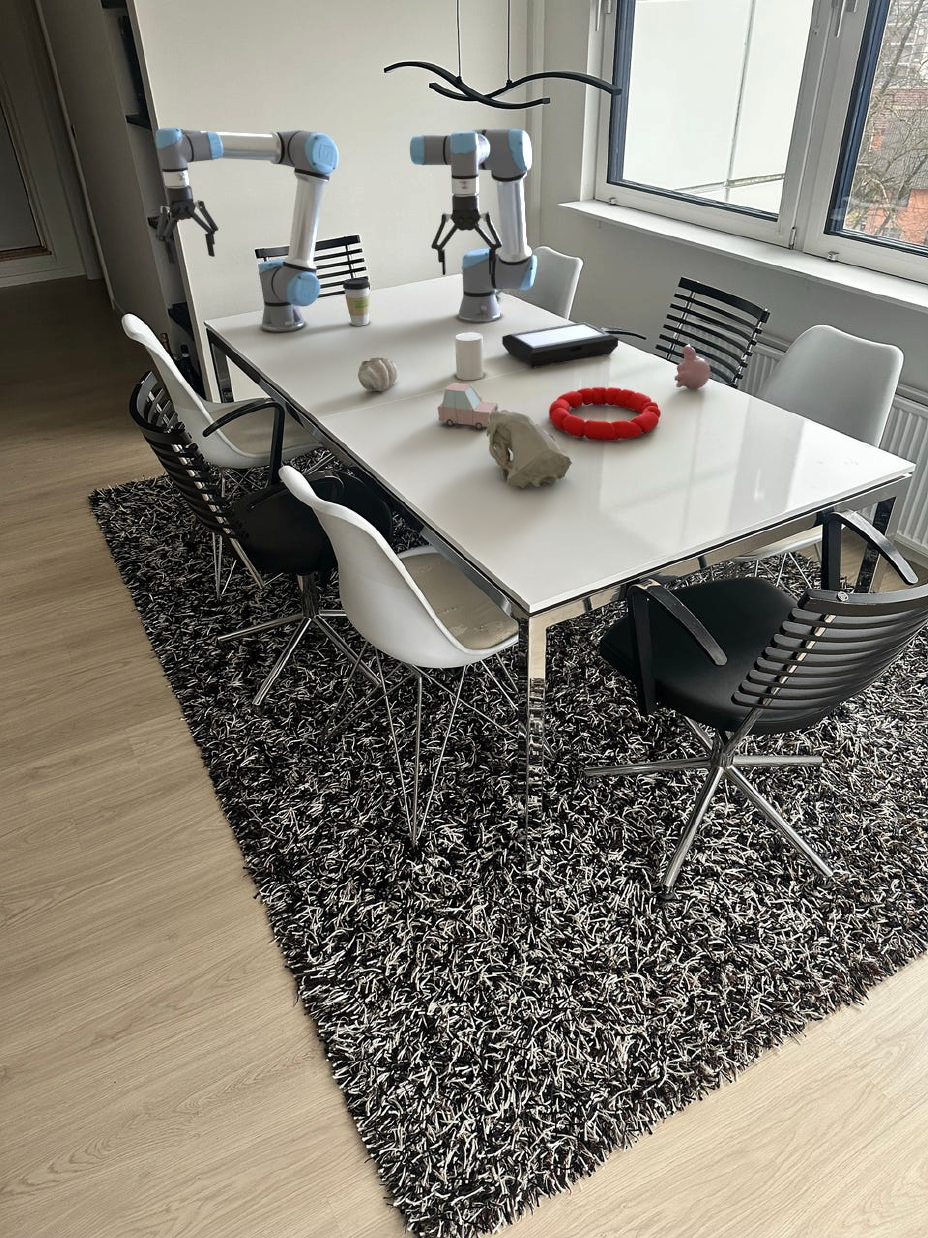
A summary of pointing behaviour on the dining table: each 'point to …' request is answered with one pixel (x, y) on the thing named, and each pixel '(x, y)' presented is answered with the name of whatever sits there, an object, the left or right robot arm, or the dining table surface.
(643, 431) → the decorative ring
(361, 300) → the coffee cup
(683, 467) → the dining table surface
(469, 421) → the toy car
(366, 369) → the seashell
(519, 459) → the animal skull
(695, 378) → the figurine
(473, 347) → the canister
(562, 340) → the electronic device
